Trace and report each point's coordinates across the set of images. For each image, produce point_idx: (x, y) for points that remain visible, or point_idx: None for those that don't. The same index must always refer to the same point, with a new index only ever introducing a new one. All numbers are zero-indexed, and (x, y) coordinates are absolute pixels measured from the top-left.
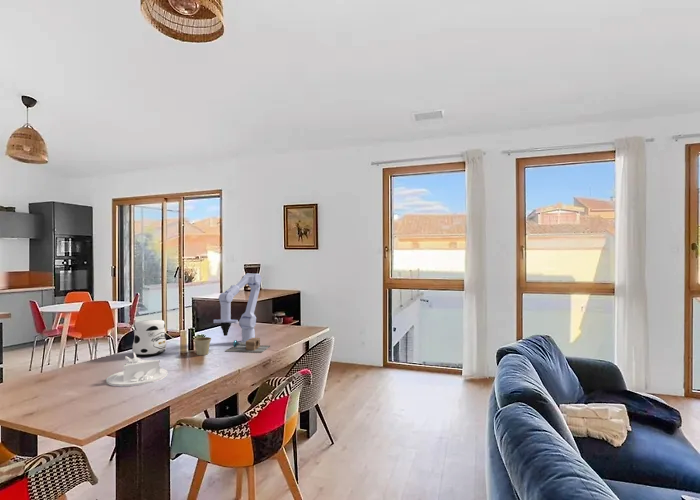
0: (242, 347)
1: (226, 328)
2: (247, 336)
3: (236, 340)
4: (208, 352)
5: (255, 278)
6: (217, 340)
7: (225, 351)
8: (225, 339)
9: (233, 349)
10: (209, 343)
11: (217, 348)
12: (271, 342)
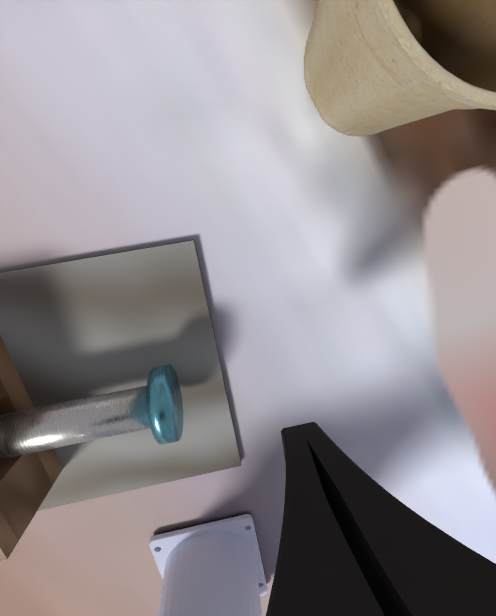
0: None
1: (293, 553)
2: (179, 604)
3: (157, 440)
4: (311, 94)
5: None
6: (451, 519)
7: (186, 242)
8: None
9: (146, 319)
10: (342, 5)
11: (333, 328)
12: (25, 611)
